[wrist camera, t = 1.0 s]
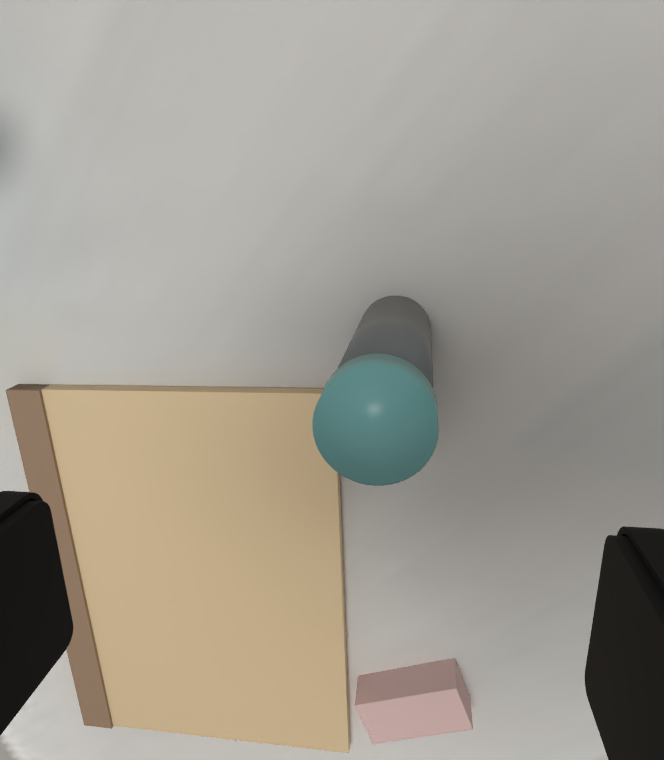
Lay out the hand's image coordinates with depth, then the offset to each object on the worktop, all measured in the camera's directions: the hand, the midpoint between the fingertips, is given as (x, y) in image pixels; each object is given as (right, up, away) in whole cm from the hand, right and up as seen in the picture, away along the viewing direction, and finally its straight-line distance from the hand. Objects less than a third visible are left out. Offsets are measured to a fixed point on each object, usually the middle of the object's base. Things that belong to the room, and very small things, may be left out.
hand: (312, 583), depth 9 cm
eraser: (+5, -15, +25) cm, 30 cm away
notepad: (-8, -8, +25) cm, 27 cm away
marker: (+3, +6, +18) cm, 19 cm away
